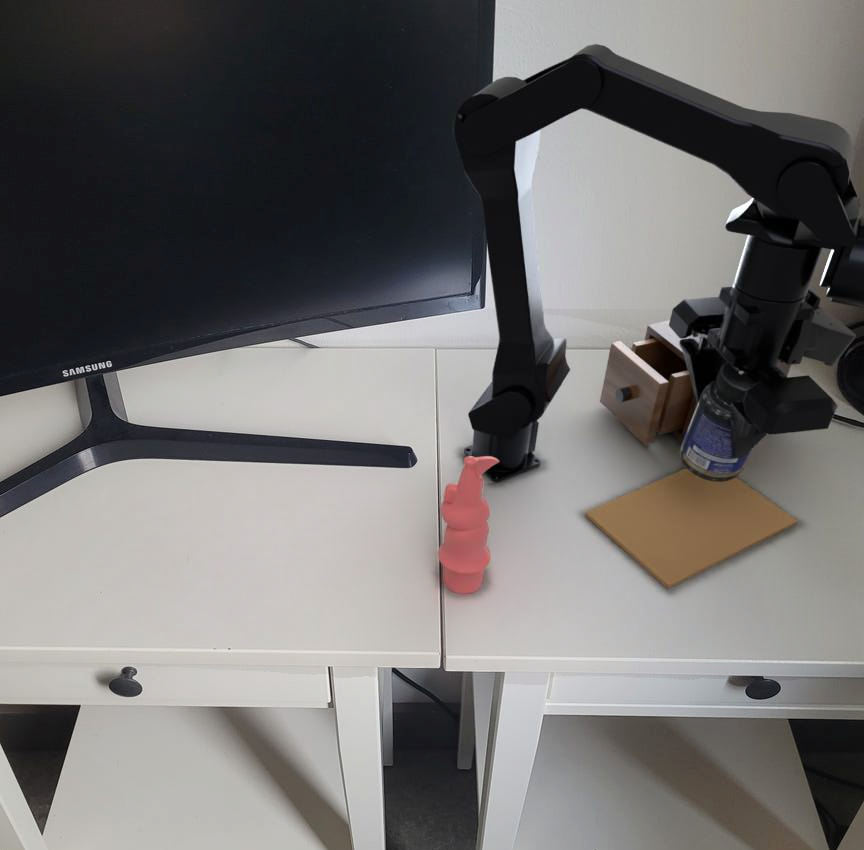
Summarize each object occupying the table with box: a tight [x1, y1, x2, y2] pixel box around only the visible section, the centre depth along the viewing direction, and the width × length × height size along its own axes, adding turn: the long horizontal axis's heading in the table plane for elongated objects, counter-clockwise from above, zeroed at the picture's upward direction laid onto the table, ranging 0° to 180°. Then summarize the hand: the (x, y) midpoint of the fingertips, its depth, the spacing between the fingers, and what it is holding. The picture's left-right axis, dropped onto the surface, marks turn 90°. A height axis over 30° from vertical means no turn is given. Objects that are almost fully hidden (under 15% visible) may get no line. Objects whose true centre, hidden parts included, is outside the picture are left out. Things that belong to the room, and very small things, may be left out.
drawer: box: [599, 338, 694, 446], centre depth 95 cm, size 13×9×8 cm
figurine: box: [437, 456, 499, 595], centre depth 74 cm, size 5×5×15 cm
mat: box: [584, 467, 798, 590], centre depth 85 cm, size 18×12×1 cm, turn 120°
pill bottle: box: [679, 362, 755, 482], centre depth 77 cm, size 6×6×11 cm
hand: (720, 435), depth 78 cm, fingers closed on pill bottle, 6 cm apart
